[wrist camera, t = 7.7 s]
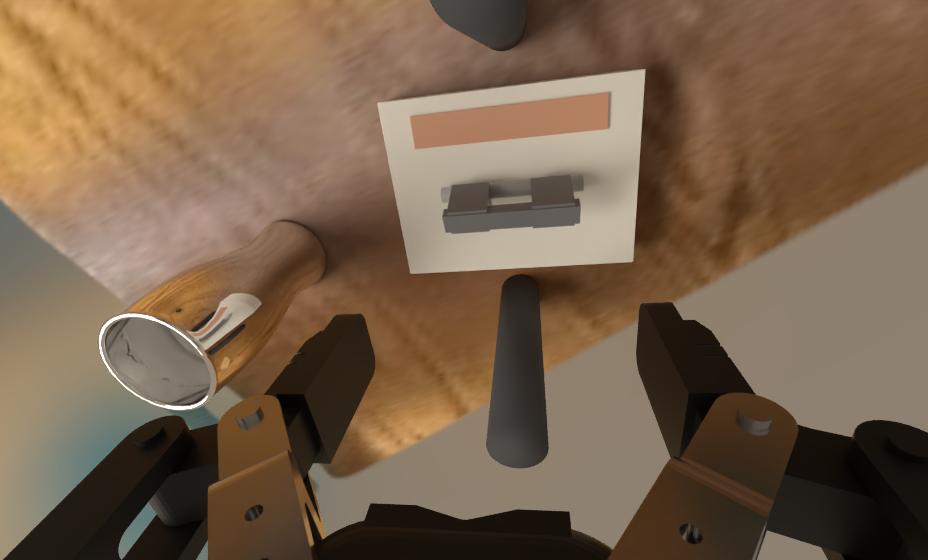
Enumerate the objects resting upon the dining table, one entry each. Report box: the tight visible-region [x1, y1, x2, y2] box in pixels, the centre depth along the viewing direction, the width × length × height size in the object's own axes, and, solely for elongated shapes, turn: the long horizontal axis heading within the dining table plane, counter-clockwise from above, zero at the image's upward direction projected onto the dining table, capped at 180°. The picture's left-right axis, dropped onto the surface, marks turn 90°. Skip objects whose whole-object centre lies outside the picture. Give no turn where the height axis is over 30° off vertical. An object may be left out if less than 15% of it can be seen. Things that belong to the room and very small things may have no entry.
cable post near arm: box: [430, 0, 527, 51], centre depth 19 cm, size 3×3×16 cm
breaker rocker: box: [441, 175, 584, 234], centre depth 26 cm, size 2×9×4 cm, turn 97°
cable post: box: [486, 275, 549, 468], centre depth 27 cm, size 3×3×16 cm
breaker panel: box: [377, 69, 645, 274], centre depth 29 cm, size 12×16×3 cm
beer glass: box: [98, 221, 326, 411], centre depth 29 cm, size 7×7×15 cm
